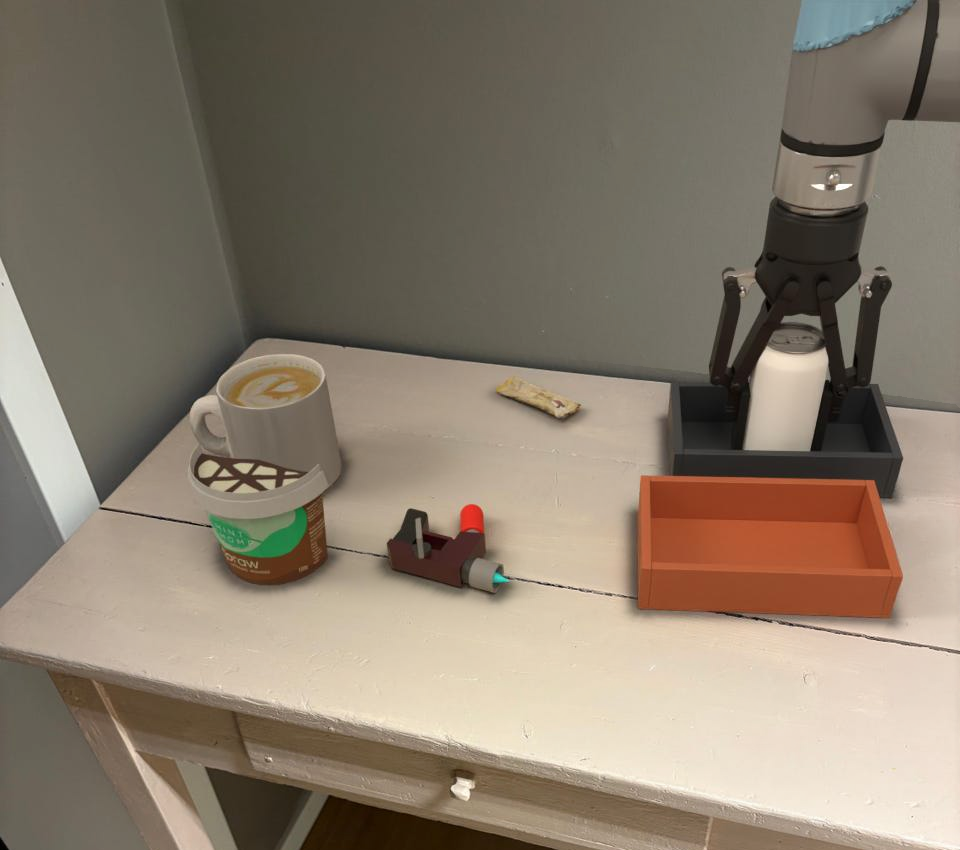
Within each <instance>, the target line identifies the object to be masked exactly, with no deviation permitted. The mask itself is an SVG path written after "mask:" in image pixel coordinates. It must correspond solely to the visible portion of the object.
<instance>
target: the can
mask: <svg viewBox="0 0 960 850" xmlns="http://www.w3.org/2000/svg"><path fill="white" fill-rule="evenodd" d="M826 345H827V344H826V343H825V341H824V337H823V332H822V328H820V327H817V326H815V325H813V324H809V323H805V322H800V321H799V322H798V321H782V322H781V323H780V325H779V326H778V328H776V329H775V330H774V332H773V334H772V336H771V338H770V340H769V341H768V343H766V347H765V349H764V351H763V352H762V354H761V356H760V358H759V360H758V362H757V363H756V365H755V367H754V369H753V371H752V373H751V374H750V376H749V379H748V382H749V389H750V394H751V395H750V401H749V408H748V414H747V421H746V427H745V433H744V440H743V446H742V450H765V451H810V449H811V445H812V440H813V435H814V431H815V426H816V421H817V417H818V412H819V407H820V403H821V398H822V393H823V388H824V383H825V380H827V378H826V377H827V374H828V370H829V367H828V364H829V359H828V354H827V349H826Z"/></svg>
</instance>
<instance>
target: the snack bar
mask: <svg viewBox="0 0 960 850" xmlns="http://www.w3.org/2000/svg"><path fill="white" fill-rule="evenodd" d="M495 391H496V392H497V393H499V394H500V395H503V396H505V397H508V398H511V399H514V400H516V401H518V402H521V403H524V404H526V405H529V406H531V407H535V408H536V409H540V410H542V411H544V412H545V413H548V414H550V415H552V416H555V418H558V419H565V418H566V417H568V414H569V415H573V413H576V412H578V411H579V410H580V407H582V404H581V403H579V402H577V403H576V402H575V401H574V400H572V399H569V398H566V397H564V396H562V395H559V394H557V393H554V392H552V391H550V390H547V389H545V388H542V387H539V386H537V385H534V384H532V383H530V382H527V381H526V380H523V379H521V378H519V377H516V376H512V377H510V378H509V379H507V380H505V381H504V382H503V383H501V384H500V385H498V386H497V387H496V389H495Z"/></svg>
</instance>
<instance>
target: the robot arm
mask: <svg viewBox="0 0 960 850" xmlns="http://www.w3.org/2000/svg"><path fill="white" fill-rule="evenodd" d="M786 85H787V86H786V93H785V99H784V100H785V101H784V107H783V114H782V115H783V116H782V123H781V131H780V138H779V143H778V148H777V149H778V150H777V155H776V162H775V167H774V173H773V179H772V186H771V191H772V194H773V195H774V197H773V198H772V199H771V201H770V202H769V208H768V214H767V221H766V227H765V234H764V241H763V247H762V251H761V254H760V255H759V257H758V259H757V260H756V261H755V263H754V265H753V266H751V267H747V268H743V269H739V270H736V269H735V268H734V267H732V266H728V267H725V268H724V269H723V270H722V272H721V280H722V286H723V287H722V288H723V294H724V295H723V299H722V305H721V309H720V314H719V317H718V322H717V326H716V332H715V335H714V341H713V345H712V349H711V354H710V358H709V362H708V373H709V374H708V375H709V382H711V384H712V385H714V386H719V385H721V386H724V387H725V388H726V396H725V403H724V413H725V418H726V421H734V422H733V429H732V435H731V445H732V450H742V446H743V440H744V433H745V427H746V421H747V414H748V408H749V401H750V395H751V394H750V389H749V379H750V374H751V373H752V371H753V369H754V367H755V365H756V363H757V362H758V360H759V358H760V356H761V354H762V352H763V351H764V349H765V347H766V343H768V341H769V340H770V338H771V336H772V334H773V332H774V330H775V329H776V328H778V326H779V325H780V323H782V322H783V320H784V318H785V317H793V316H798V315H805V316H809V317H819V321H820V327H821V328H820V329H821V330H822V332H823V337H824V341H825V343H826V344H827V345H826V349H827V354H828V359H829V364H828V372H829V377H830V378H829V379H825V383H824V388H823V393H822V398H821V403H820V407H819V412H818V417H817V421H816V426H815V431H814V435H813V440H812V445H811V449H810V451H821V449H822V444H823V440H824V435H825V431H826V426H827V422H837V420H838V419H839V418H840V414H841V409H842V405H843V401H844V397H846V396H847V395H848V394H849V389H850V388H852V387H855V386H859V387H866V386H868V385H869V384H871V382H872V375H873V369H874V368H873V366H874V362H875V361H874V360H875V355H876V348H877V339H878V332H879V327H880V326H879V325H880V319H881V311H882V306H883V304H884V302H885V300H886V299H887V297H888V296H889V293H890V291H891V289H892V287H893V282H892V280H891V278H890V274H889V273H888V270H887V268H886V267H884V266H882V265H881V266H876V267H874V269H872V268H869V267H865V266H861V263H860V259H859V257H860V250H861V245H862V241H863V237H864V233H865V227H866V223H867V218H868V214H869V205H868V204H867V202H866V201H868V200H869V199H870V198H871V197H872V194H873V190H874V185H875V180H876V175H877V171H878V170H877V169H878V166H879V159H880V155H881V150H882V146H883V143H884V138H885V134H886V129H887V126H888V122H889V121H891V120H892V121H906V122H907V121H909V122H911V121H912V122H913V121H914V122H915V121H917V122H938V123H939V122H942V123H960V0H801V2H800V6H799V11H798V17H797V23H796V27H795V32H794V37H793V43H792V48H791V54H790V63H789V71H788V78H787V84H786ZM756 283H757V285H758V287H759V289H760V290H761V292H762V293H763V294H764V295H763V296H765V297H764V299H763V301H762V303H761V305H760V309H759V312H758V314H757V316H756V318H755V320H754V321H753V324H752V326H751V327H750V329H749V331H748V333H747V335H746V337H745V339H744V341H743V343H741V346H740V348H739V350H738V352H737V354H736V357H735V358H734V360H733V361H732V364H731V366H728V365H729V361H730V356H731V352H732V347H733V343H734V340H735V335H736V330H737V327H738V322H739V319H740V318H739V317H740V313H741V306H742V303H741V301H742V300H741V299H745V298H746V297H747V296H749V293H750V288H751V286H752V285H754V284H756ZM856 283H857V284H858V286H857V287H858V288H857V289H858V292H859V294H860V301H859V302H860V303H859V309H858V310H859V311H858V318H857V327H856V332H855V333H856V334H855V343H854V349H853V356H852V365H851V366H849V367H846V365H845V360H844V359H845V358H844V352H843V348H842V341H841V335H840V329H839V328H840V327H839V320H838V314H837V308H836V304H837V302H838V301H839V300H840V299H841V298H842V297H843V296H844V295H845V294H846V293H848V291H850V289H851V288H852V287H853V286H855V284H856Z"/></svg>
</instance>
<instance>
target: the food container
mask: <svg viewBox="0 0 960 850" xmlns="http://www.w3.org/2000/svg"><path fill="white" fill-rule="evenodd" d="M202 448H203V447H202V446H201V445H200V443H199V442H198V443H197V445H196V446H195V447H194V448H193V449H192V452H191V454H190V457H189V460H188V466H187V485H188V487H187V488H188V493H189V495H190V497H191V499H192V501H193V502H194V503H195V504H196V505H197V506H198V507H199V508H201V509H202V510H204V511H205V513H206V516H207V518H208V521H209V523H210V525H211V528H212V530H213V532H214V535H215V537H216V540H217V542H218V545H219V547H220V549H221V552H222V554H223V556H224V557H223V558H224V560H225V561H226V564H227V566H228V569H229V570H230V571H231V572H232V573H233V574H234V575H235V577H237V578H238V579H240V580H242V581H245V582H246V583H250V584H254V585H259V586H274V585H275V586H276V585H282V584H288V583H291V582H296V581H298V580H300V579H302V578H304V577H306V576H308V575H310V574H312V573H313V572H316V570H318V569H319V568H320V567H321V566H322V565H324V563H325V562H326V561H327V560H328V558H329V555H328V544H327V543H328V542H327V533H326V521H325V510H324V509H325V508H324V499H323V497H324V496H323V493H324V492H325V491H326V490H327V489H328V488H327V487H328V486H329V485H328V483H327V480H326V478H325V475H324V472H323V471H320V467H319V464H317V465H316V466H315V467H314V468H313V469H312V470H311V471H310V472H305V471H298V470H293V469H288V468H284V467H281V466H278V465H275V464H272V463H268V462H265V461H261V460H255V459H233V458H228V457H225V456H218V455H214V454H213V455H212V454H206V453H204V450H203V449H202ZM326 488H327V489H326ZM325 489H326V490H325Z"/></svg>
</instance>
